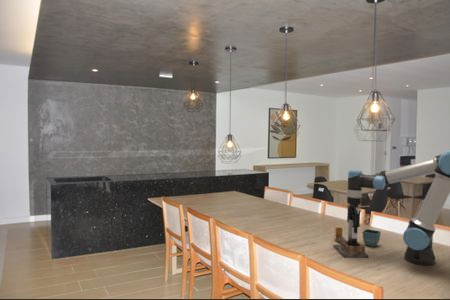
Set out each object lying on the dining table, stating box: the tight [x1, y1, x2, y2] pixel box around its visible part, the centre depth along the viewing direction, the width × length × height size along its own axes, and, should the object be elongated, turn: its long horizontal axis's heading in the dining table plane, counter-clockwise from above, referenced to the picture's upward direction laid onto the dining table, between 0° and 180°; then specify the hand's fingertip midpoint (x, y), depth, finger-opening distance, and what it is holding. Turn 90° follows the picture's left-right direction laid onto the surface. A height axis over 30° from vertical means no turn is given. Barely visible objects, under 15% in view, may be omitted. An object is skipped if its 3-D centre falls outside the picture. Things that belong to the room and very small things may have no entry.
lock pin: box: [334, 226, 351, 246], centre depth 212 cm, size 4×20×9 cm, turn 1°
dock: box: [332, 239, 370, 259], centre depth 201 cm, size 14×19×6 cm
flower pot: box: [362, 228, 382, 248], centre depth 213 cm, size 9×9×9 cm
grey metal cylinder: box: [347, 219, 359, 245], centre depth 197 cm, size 5×5×14 cm
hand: (352, 236), depth 197 cm, fingers closed on grey metal cylinder, 5 cm apart
